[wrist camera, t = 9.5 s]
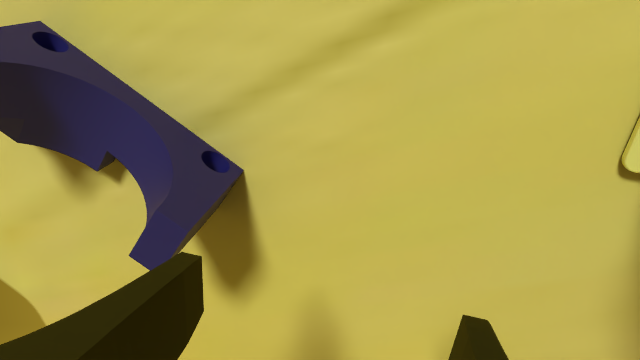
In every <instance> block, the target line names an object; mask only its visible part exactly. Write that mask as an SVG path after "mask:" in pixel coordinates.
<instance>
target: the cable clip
mask: <svg viewBox="0 0 640 360" xmlns="http://www.w3.org/2000/svg"><path fill="white" fill-rule="evenodd" d="M0 131H1V132H3V133H4V134H6V135H7V136H8V137H10V138H11V139H13V140H14V141H16V142H17V143H23V144H29V145H35V146H39V147H44V148H47V149H51V150H54V151H57V152H60V153H62V154H65V155H68V156H70V157H72V158H75V159H77V160H79V161H81V162H82V163H84V164H86V165H88V166H89V167H91V168H93V169H94V170H96V171H99V170H100V169H102V168H104V167H105V166H107V165H108V164H110V163H112V162H113V161H114V159H115V158H117V159H118V160H119V161H120V162H121V163H122V164H123V165H124V166H125V167H126V168H127V169H128V170H129V172H130V173H131V174H132V175H133V177H134V178H135V180H136V181H137V183H138V185H139V186H140V188H141V191H142V193H143V195H144V199H145V202H146V208H147V222H146V227H145V229H144V231H143V233H142V234H141V236H140V238H139V239H138V241H137V243H136V244H135V246H134V248H133V249H132V251H131V253H130V254H129V256H130V257H131V258H133V259H134V260H136V261H137V262H139V263H140V264H141V265H143V266H144V267H146V268H147V269H149V270H150V271H151V270H152V269H154V268H156V267H157V266H159V265H161V264H162V263H164V262H165V261H167V260H169V259H170V258H172V257H174V256H176V255H177V254H178V253H179V252H180V251H181V250H182V249H183V247H184V246H185V245H186V244H187V243H188V242H189V241H190V239H191V238H192V237H193V236H194V235H195V234H196V232H197V231H198V230H199V229H200V228H201V227H202V225H203V224H204V223H205V222H206V221H207V220H208V219H209V217H210V216H211V215H212V214H213V213H214V212H215V210H216V209H217V208H218V207H219V205H220V204H221V202H222V201H223V199H224V198H225V197H226V195H227V194H228V192H229V191H230V189H231V188H232V186H233V185H234V184H235V182H236V181H237V179H238V178H239V176H240V175H241V174H242V172H243V171H244V170H243V169H241V168H240V167H239V166H237V165H236V164H235V163H233V162H232V161H230V160H229V159H228V158H226V157H225V156H224V155H222V154H221V153H220V152H218V151H217V150H215V149H214V148H213V147H211V146H210V145H209V144H207V143H206V142H205V141H203V140H202V139H200V138H199V137H198V136H196V135H195V134H194V133H192V132H191V131H190V130H188V129H187V128H185V127H184V126H183V125H181V124H180V123H179V122H177V121H176V120H175V119H173V118H172V117H170V116H169V115H168V114H166V113H165V112H164V111H162V110H161V109H159V108H158V107H157V106H155V105H154V104H153V103H151V102H150V101H149V100H147V99H146V98H144V97H143V96H142V95H140V94H139V93H138V92H136V91H135V90H134V89H132V88H131V87H129V86H128V85H127V84H125V83H124V82H123V81H121V80H120V79H119V78H117V77H116V76H114V75H113V74H112V73H110V72H109V71H108V70H106V69H105V68H104V67H102V66H101V65H99V64H98V63H97V62H95V61H94V60H93V59H91V58H90V57H89V56H87V55H86V54H84V53H83V52H82V51H80V50H79V49H78V48H76V47H75V46H74V45H72V44H71V43H69V42H68V41H67V40H65V39H64V38H63V37H61V36H60V35H59V34H57V33H56V32H54V31H53V30H52V29H50V28H49V27H48V26H46V25H45V24H44V23H42V22H41V21H36V22H30V23H23V24H17V25H10V26H4V27H0Z"/></svg>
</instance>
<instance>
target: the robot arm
mask: <svg viewBox="0 0 640 360" xmlns="http://www.w3.org/2000/svg"><path fill="white" fill-rule="evenodd" d="M621 161H622V164H623V165H624V166H625V168H626V169H628V170H629V171H631V172H635V173H640V117H639V119H638V122H637V124H636V126H635V128H634V131H633V133H632V135H631V137H630V140H629V142H628V144H627V146H626V149H625V151H624V153H623V155H622V159H621ZM203 312H204V305H203V279H202V256H197V255H193V254H188V253H184V252H181V253H179V254H177V255H176V256H174V257H172V258H170V259H169V260H167V261H165V262H164V263H162V264H161V265H159V266H157V267H156V268H154V269H152V270H151V271H149V272H147V273H146V274H144V275H142V276H141V277H139V278H137V279H136V280H134V281H132V282H131V283H129V284H127V285H125V286H124V287H122V288H120V289H119V290H117V291H115V292H113V293H112V294H110V295H108V296H106V297H104V298H102V299H100V300H98V301H97V302H95V303H93V304H91V305H89V306H87V307H85V308H84V309H82V310H80V311H78V312H76V313H74V314H72V315H70V316H68V317H66V318H64V319H61V320H59V321H57V322H55V323H53V324H50V325H48V326H46V327H44V328H41V329H39V330H37V331H35V332H32V333H30V334H28V335H25V336H23V337H20V338H17V339H15V340H12V341H9V342H7V343H4V344H1V345H0V360H177V359H178V358H179V356H180V355H181V353H182V352H183V350H184V349H185V347H186V345H187V344H188V342H189V340H190V338H191V336H192V334H193V332H194V330H195V328H196V326H197V324H198V322H199V320H200V318H201V316H202V314H203ZM449 360H509V359H508V358H507V356H506V354H505V352H504V350H503V348H502V346H501V344H500V342H499V340H498V338H497V336H496V334H495V332H494V330H493V328H492V326H491V324H490V323H489V322H488V320H485V319H480V318H476V317H471V316H467V315H463V316H462V319H461V323H460V326H459V329H458V332H457V335H456V338H455V341H454V344H453V347H452V351H451V354H450V357H449Z"/></svg>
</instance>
